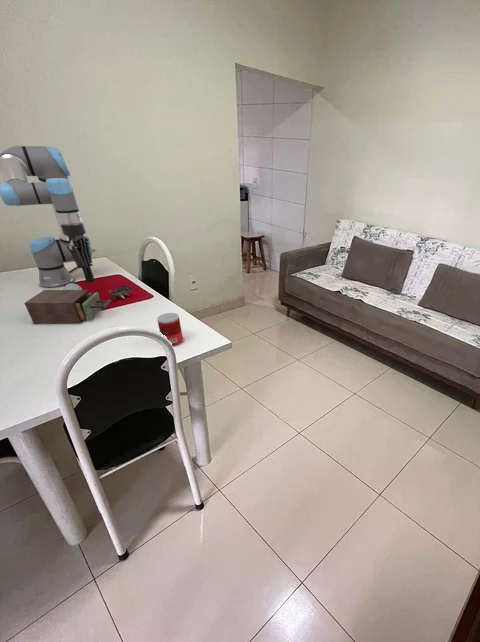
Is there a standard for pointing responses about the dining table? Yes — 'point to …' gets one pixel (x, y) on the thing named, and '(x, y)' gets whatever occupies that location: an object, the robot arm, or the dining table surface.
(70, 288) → the ceramic mug
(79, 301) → the drawer
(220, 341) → the dining table surface
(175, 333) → the canned food
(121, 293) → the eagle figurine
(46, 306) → the cabinet
